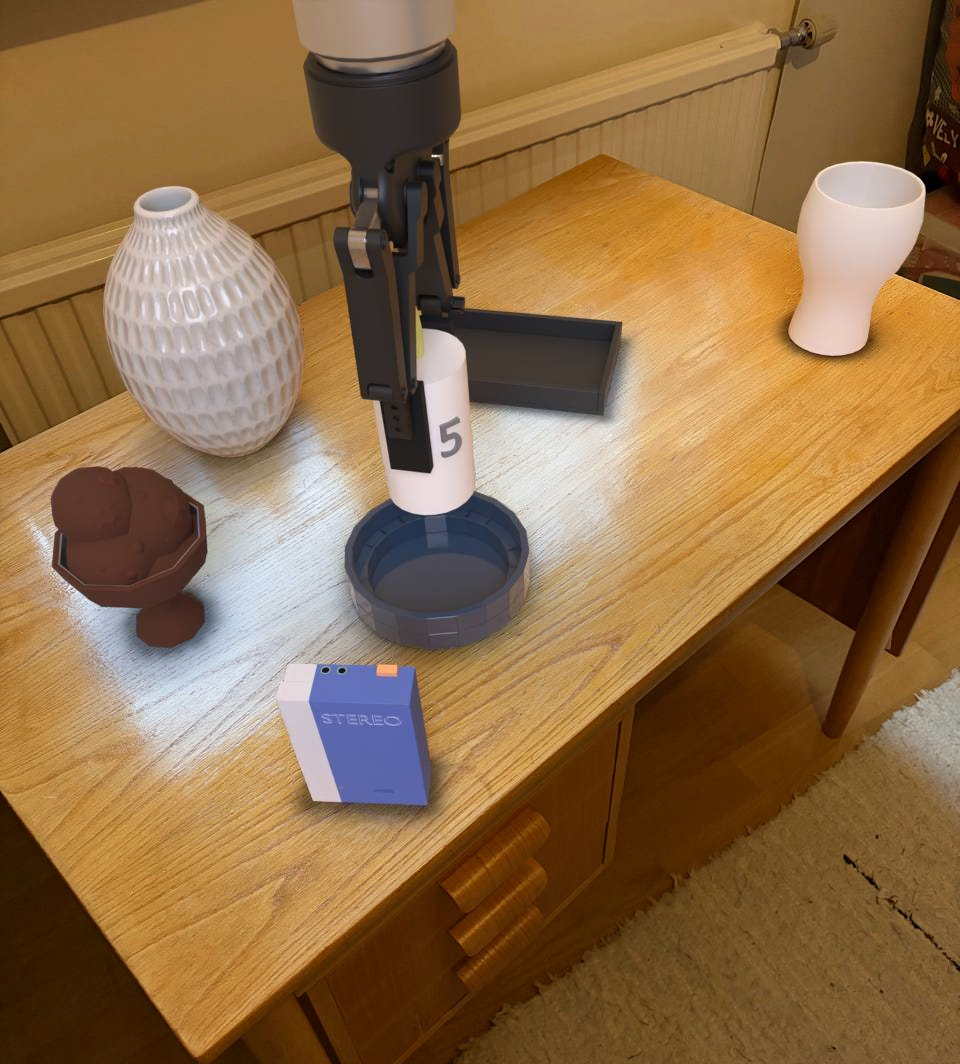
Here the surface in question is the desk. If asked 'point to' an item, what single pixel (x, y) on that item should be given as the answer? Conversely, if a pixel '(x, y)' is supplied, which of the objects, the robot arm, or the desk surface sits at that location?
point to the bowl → (438, 572)
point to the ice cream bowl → (132, 547)
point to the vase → (202, 326)
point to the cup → (852, 250)
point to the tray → (538, 359)
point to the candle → (437, 430)
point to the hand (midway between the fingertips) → (426, 434)
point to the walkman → (357, 732)
